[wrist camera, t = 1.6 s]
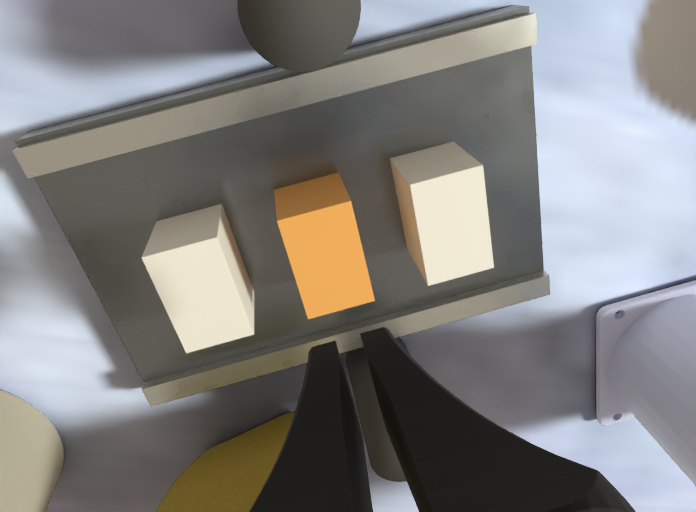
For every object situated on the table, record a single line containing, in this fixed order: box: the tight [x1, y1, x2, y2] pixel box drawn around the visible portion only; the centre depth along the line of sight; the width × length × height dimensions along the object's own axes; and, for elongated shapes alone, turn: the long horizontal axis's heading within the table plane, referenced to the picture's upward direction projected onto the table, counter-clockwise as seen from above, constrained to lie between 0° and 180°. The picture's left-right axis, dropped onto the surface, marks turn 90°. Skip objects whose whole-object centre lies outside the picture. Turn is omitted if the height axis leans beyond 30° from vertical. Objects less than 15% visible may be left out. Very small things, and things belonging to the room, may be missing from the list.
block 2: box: [274, 172, 375, 319], centre depth 20 cm, size 2×4×3 cm, turn 13°
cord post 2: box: [346, 337, 409, 482], centre depth 23 cm, size 3×3×6 cm
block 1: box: [142, 204, 254, 353], centre depth 20 cm, size 2×4×3 cm, turn 13°
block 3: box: [390, 142, 494, 286], centre depth 20 cm, size 2×4×3 cm, turn 13°
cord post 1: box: [238, 0, 361, 72], centre depth 16 cm, size 3×3×6 cm
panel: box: [12, 5, 550, 407], centre depth 21 cm, size 18×12×2 cm, turn 103°
